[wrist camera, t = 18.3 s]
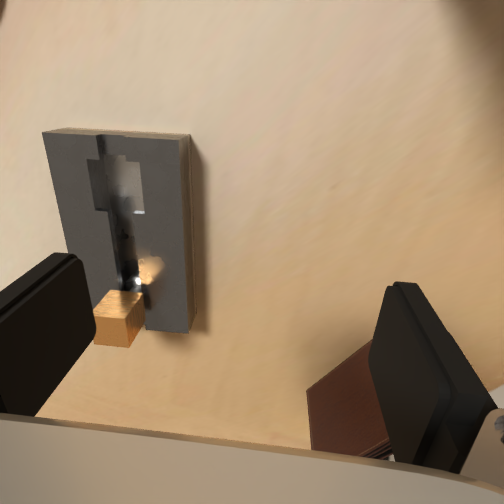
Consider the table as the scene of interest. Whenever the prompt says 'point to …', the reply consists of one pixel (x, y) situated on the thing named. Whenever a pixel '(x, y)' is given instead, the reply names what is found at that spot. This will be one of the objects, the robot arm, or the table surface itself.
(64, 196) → the keyhole track
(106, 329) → the peg
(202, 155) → the table surface
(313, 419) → the letter holder
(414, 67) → the table surface
